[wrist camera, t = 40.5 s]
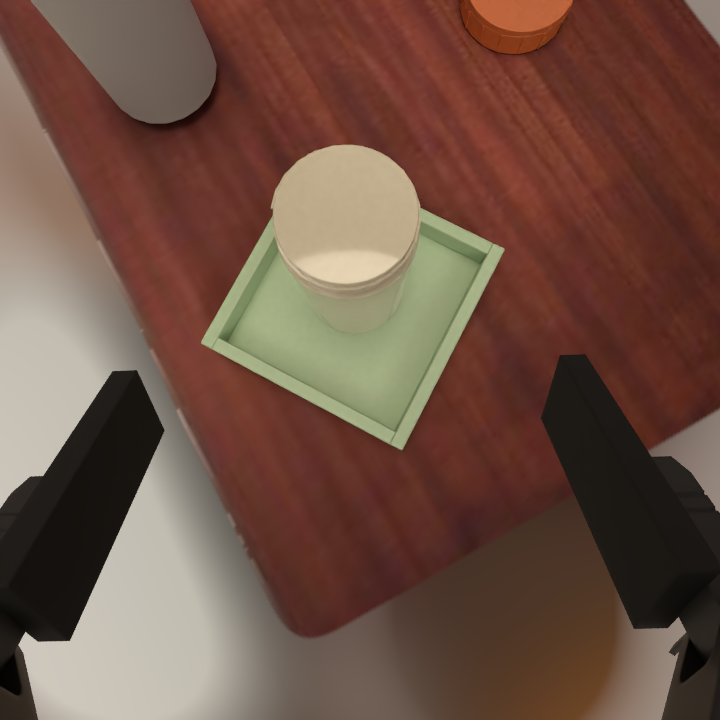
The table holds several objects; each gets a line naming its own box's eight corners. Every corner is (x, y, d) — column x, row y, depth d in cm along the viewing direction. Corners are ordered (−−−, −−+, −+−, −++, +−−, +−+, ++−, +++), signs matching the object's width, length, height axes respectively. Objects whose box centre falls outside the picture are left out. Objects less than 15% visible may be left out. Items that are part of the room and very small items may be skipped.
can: (238, 103, 31) (155, -89, 19) (140, 150, 31) (-7, -15, 19) (194, 16, 32) (89, -220, 20) (98, 61, 32) (-67, -150, 20)
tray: (494, 261, 29) (505, 248, 27) (399, 447, 28) (402, 451, 26) (312, 171, 30) (308, 152, 28) (213, 348, 29) (199, 342, 27)
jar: (414, 249, 29) (439, 157, 19) (391, 344, 28) (403, 305, 18) (318, 227, 29) (289, 125, 19) (294, 321, 29) (249, 269, 18)
